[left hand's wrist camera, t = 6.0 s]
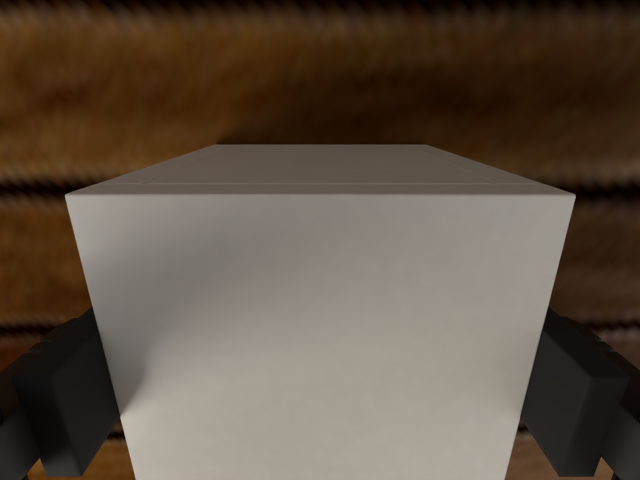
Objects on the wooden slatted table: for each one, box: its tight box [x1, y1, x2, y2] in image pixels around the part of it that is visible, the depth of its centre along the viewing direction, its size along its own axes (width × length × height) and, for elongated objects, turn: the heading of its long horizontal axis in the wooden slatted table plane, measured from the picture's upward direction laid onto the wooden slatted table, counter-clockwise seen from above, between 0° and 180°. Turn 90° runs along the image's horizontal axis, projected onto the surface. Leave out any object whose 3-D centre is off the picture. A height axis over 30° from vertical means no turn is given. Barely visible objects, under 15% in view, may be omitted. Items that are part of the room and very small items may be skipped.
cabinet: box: [65, 145, 576, 480], centre depth 16 cm, size 20×10×11 cm, turn 0°
